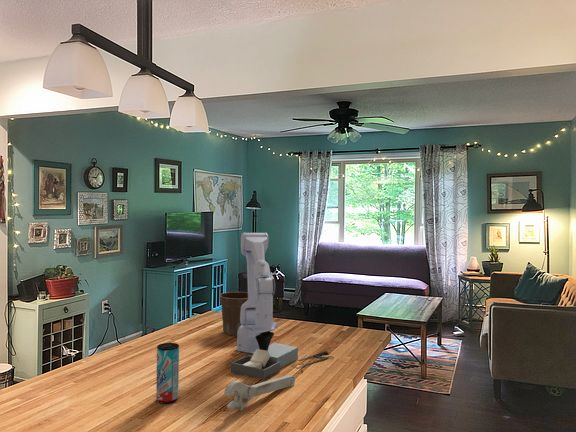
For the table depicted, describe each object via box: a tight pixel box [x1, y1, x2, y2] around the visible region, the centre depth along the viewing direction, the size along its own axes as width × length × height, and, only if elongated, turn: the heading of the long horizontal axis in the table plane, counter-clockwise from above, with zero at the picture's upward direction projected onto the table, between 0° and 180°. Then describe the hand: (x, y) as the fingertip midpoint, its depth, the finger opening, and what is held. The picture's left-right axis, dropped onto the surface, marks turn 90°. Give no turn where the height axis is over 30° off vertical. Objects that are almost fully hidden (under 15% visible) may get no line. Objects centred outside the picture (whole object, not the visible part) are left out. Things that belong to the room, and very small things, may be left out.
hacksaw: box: [291, 350, 335, 374], centre depth 162 cm, size 24×10×2 cm, turn 132°
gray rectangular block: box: [251, 342, 299, 369], centre depth 163 cm, size 10×14×4 cm
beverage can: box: [155, 342, 180, 404], centre depth 129 cm, size 6×6×15 cm
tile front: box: [243, 361, 262, 369], centre depth 151 cm, size 4×4×2 cm
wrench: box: [223, 374, 296, 412], centre depth 131 cm, size 8×2×30 cm
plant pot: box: [218, 291, 255, 337], centre depth 200 cm, size 16×16×16 cm
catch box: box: [230, 354, 281, 381], centre depth 152 cm, size 13×10×3 cm
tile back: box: [251, 349, 270, 367], centre depth 154 cm, size 4×4×2 cm
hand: (263, 354), depth 156 cm, fingers closed, pressing on tile back
